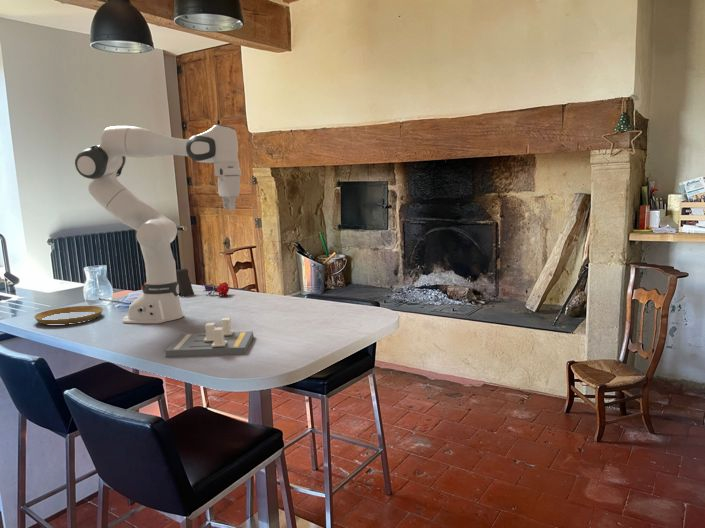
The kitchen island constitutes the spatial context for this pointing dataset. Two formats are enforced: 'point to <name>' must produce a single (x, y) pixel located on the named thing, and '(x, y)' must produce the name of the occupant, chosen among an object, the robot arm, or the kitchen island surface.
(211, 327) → the switch mid
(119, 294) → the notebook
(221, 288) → the figurine
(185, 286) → the phone stand
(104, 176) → the robot arm
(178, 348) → the switch board
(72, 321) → the plant saucer
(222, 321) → the switch far
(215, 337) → the switch near
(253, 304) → the kitchen island surface
